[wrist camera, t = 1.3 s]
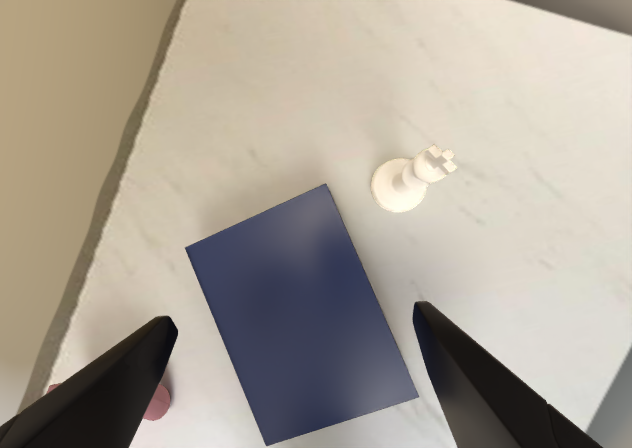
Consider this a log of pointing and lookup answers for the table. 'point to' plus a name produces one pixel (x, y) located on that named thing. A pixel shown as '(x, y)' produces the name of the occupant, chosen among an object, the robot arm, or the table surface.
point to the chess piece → (409, 178)
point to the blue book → (300, 318)
